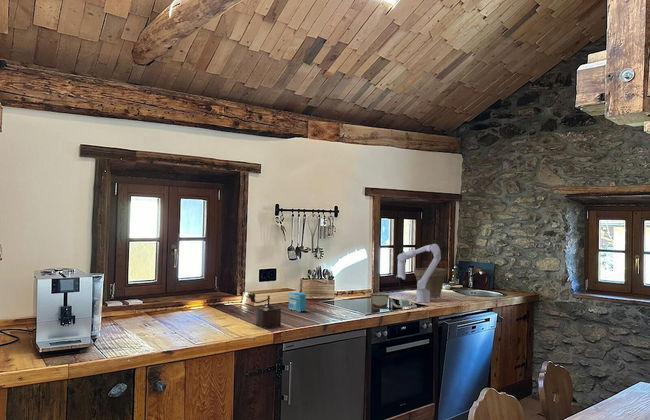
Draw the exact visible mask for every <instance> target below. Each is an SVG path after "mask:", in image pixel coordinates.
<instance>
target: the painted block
mask: <svg viewBox="0 0 650 420" xmlns="http://www.w3.org/2000/svg"><path fill="white" fill-rule="evenodd" d="M398 302H399V303H398V304H400V305H399V306H408V305H409V306H410V300H409V299H407V298H399V300H398Z"/></svg>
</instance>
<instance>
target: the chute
mask: <svg viewBox="0 0 650 420" xmlns="http://www.w3.org/2000/svg"><path fill="white" fill-rule="evenodd" d="M390 302H391V304H392V306H394V307H395V308H418V307H417V305H416V304H414V303H413V302H410V301H409V306H401V305H397V304H396V303H395V300H393V299H392V298H390ZM411 304H412V305H411Z"/></svg>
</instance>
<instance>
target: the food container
mask: <svg viewBox="0 0 650 420" xmlns="http://www.w3.org/2000/svg"><path fill="white" fill-rule="evenodd" d="M370 298H371V302H372V309H373V310H388V303H389V298H390V294H389V293H385V292H372V293H371V294H370Z"/></svg>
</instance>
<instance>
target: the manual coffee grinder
mask: <svg viewBox="0 0 650 420" xmlns="http://www.w3.org/2000/svg"><path fill="white" fill-rule="evenodd" d="M248 298H249V299H250V302H251V303H254V304H260V303H264V302H267V303H264V305H263V306H261V307H256V310H255V311H256V312H255V313H256V315H255V318H256V320H255V325H256V324H257V325H256V326H258V325H259V326H258V327H260V326H262V327H261V328H264V327H268V328H273V327H272V326H275V327H279V325H281V323H282V321H281V317H282V316H281V315H282V314H281V313H282V310H281V308H278V307H275V306H274V305H272V304H270V299H271V298H270V295H269V294H268V295H267V298H266V299H263V300H260V301H259V300H258V301H256V293H254V292H252V293H249V294H248ZM281 326H282V325H281Z"/></svg>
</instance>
